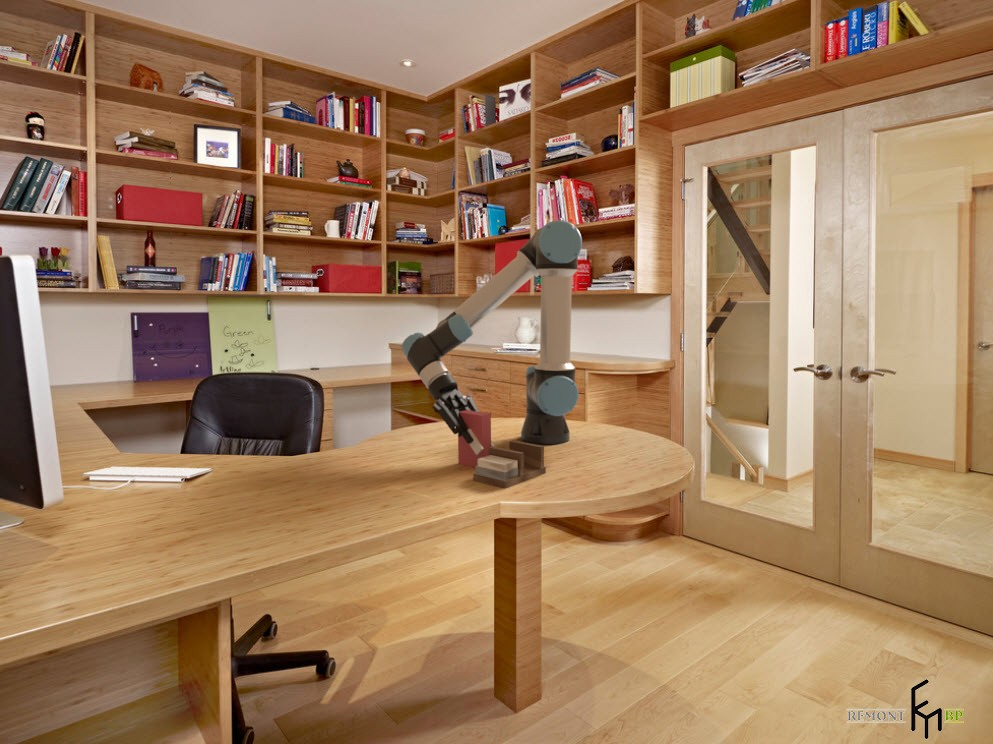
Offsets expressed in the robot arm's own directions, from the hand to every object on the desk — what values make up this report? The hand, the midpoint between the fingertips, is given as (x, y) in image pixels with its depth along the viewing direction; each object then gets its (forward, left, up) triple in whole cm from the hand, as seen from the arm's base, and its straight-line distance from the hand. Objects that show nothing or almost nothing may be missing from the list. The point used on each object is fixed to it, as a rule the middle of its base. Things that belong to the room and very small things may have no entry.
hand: (485, 450), depth 160 cm
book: (+2, -3, -5) cm, 6 cm away
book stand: (-3, +10, -5) cm, 11 cm away
